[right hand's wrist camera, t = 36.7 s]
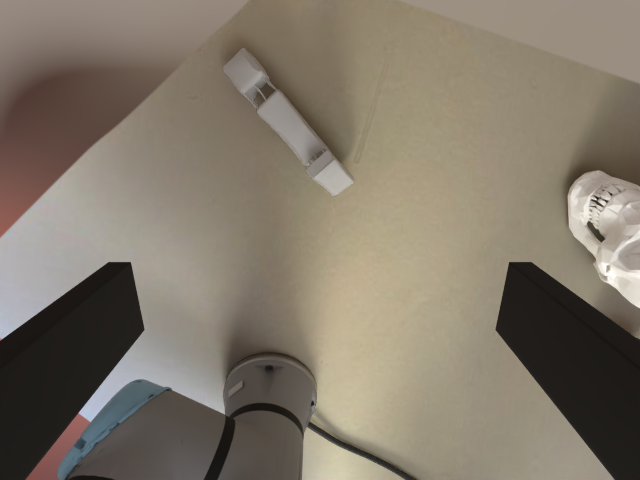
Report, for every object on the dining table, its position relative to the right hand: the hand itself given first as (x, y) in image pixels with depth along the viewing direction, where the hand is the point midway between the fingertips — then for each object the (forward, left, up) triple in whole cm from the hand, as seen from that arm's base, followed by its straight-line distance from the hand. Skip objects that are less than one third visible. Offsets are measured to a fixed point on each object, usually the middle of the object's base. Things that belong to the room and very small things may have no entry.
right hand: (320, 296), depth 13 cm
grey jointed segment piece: (+5, 0, -36) cm, 37 cm away
